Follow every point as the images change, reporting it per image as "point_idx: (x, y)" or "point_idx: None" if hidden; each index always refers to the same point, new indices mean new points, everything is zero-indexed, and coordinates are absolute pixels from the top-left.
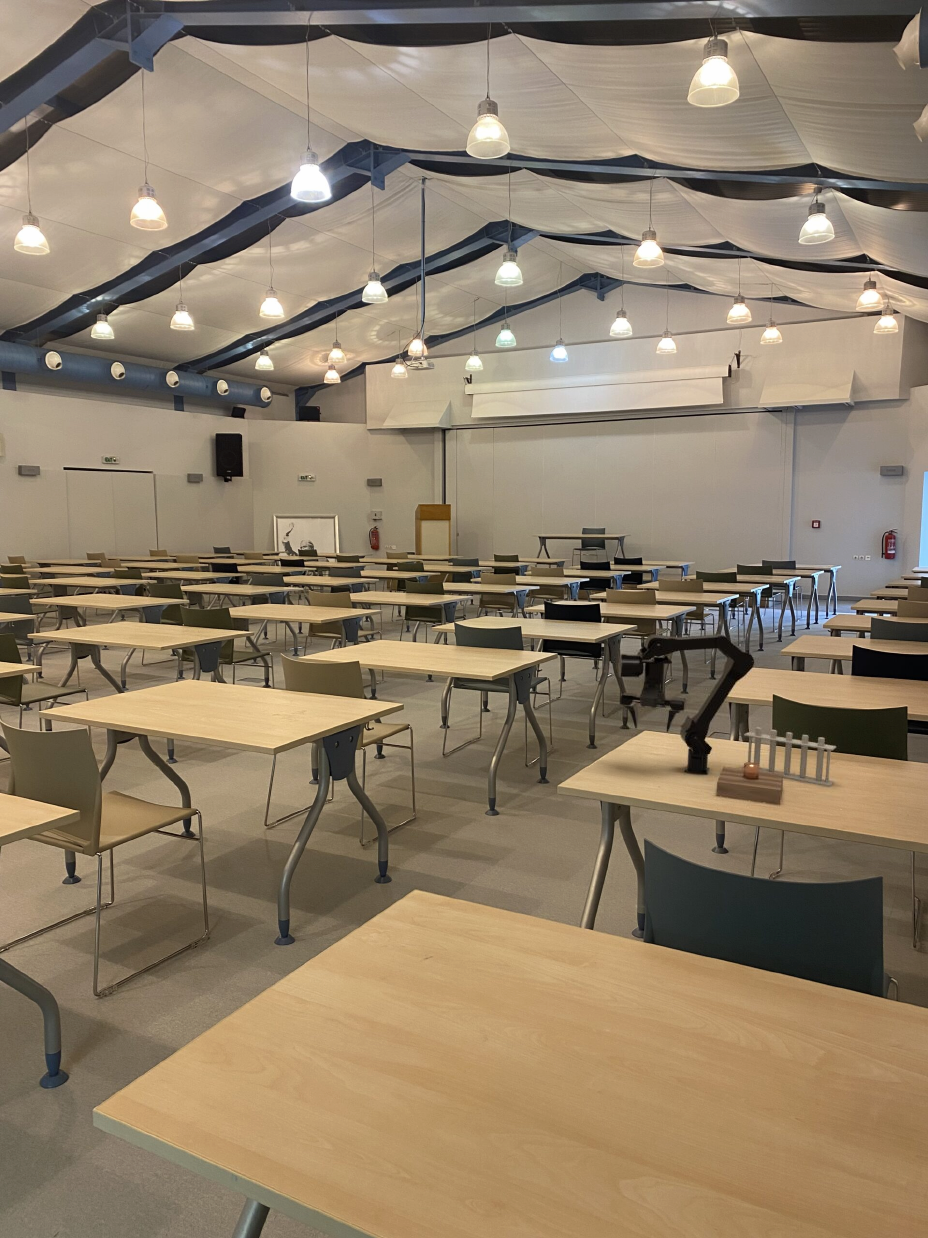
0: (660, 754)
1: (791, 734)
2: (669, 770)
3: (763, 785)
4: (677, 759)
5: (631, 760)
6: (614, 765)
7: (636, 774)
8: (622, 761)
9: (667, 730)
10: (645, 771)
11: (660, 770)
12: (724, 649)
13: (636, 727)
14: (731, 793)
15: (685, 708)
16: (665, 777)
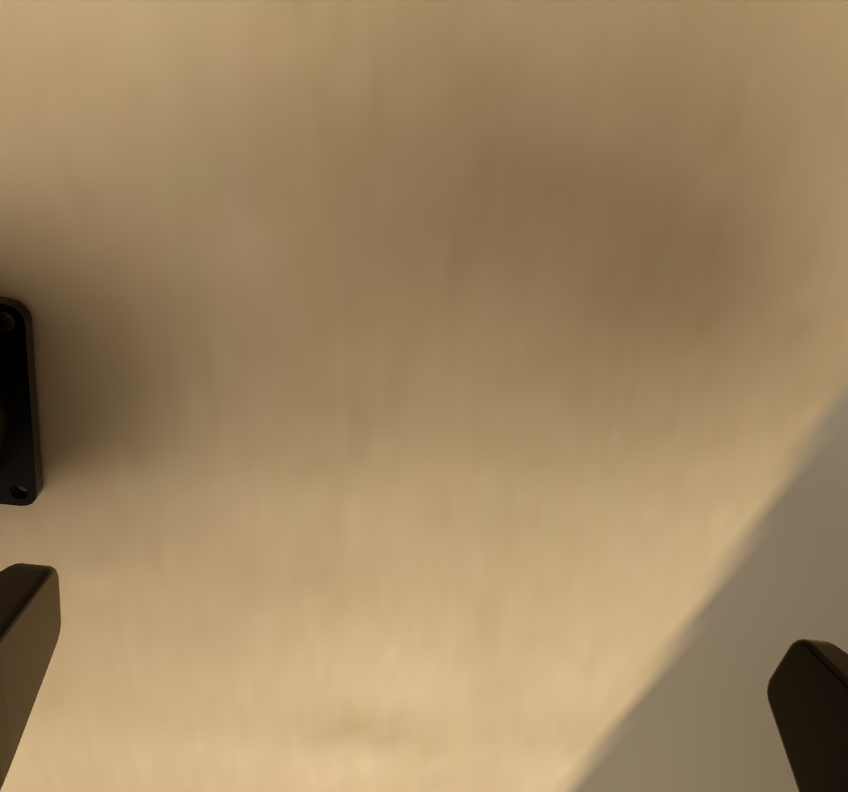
0: (322, 733)
1: None
2: (200, 327)
3: None
4: (175, 662)
5: (565, 532)
6: (752, 338)
7: (563, 49)
8: (651, 483)
9: (11, 587)
10: (452, 213)
11: (293, 299)
12: None
13: (818, 653)
14: None
15: None
16: (211, 12)
